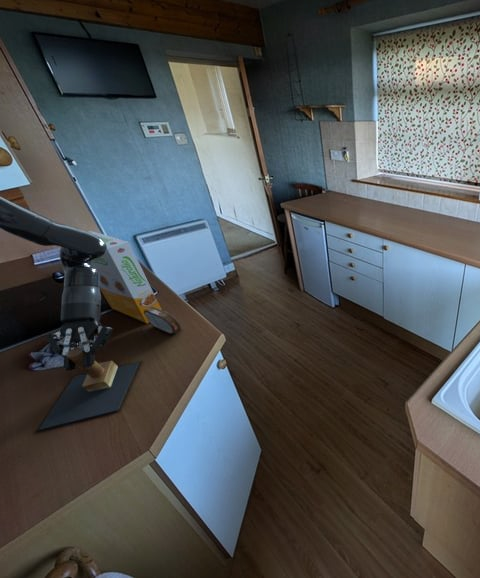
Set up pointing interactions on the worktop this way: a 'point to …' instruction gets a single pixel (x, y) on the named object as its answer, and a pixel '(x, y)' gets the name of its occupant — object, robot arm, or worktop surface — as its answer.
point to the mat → (89, 399)
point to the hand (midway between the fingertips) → (79, 368)
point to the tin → (162, 320)
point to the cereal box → (123, 279)
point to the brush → (94, 371)
